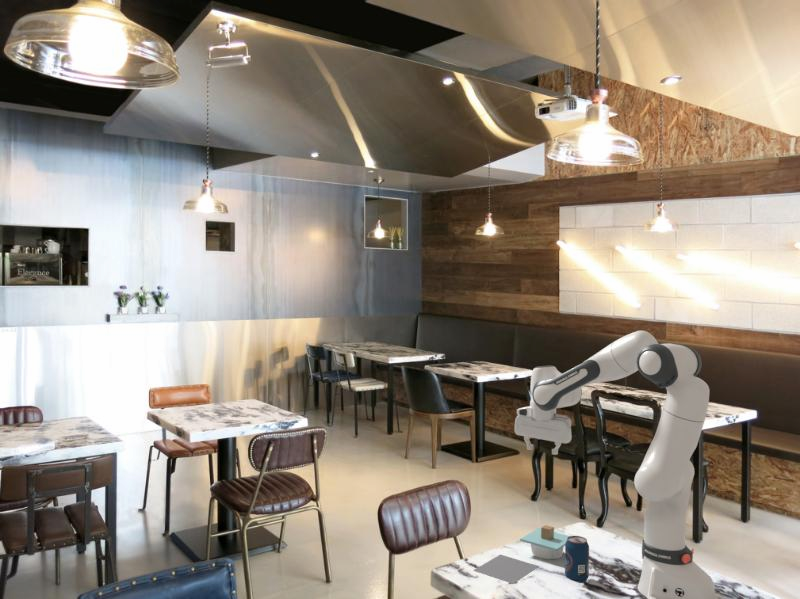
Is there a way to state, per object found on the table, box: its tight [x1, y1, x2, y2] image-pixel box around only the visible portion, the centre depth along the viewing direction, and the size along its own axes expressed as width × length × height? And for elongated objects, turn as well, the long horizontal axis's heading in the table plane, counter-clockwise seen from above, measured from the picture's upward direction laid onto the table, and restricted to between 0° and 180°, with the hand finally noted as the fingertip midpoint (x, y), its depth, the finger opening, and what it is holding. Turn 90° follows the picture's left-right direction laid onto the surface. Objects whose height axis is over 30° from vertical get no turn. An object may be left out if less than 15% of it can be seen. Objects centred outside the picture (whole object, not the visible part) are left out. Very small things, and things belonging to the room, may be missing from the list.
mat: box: [473, 554, 540, 585], centre depth 200 cm, size 14×16×1 cm
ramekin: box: [530, 544, 564, 560], centre depth 212 cm, size 11×11×5 cm
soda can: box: [564, 535, 590, 584], centre depth 195 cm, size 7×7×12 cm
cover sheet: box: [519, 524, 570, 551], centre depth 212 cm, size 13×13×4 cm
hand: (542, 451), depth 223 cm, fingers open, 8 cm apart
